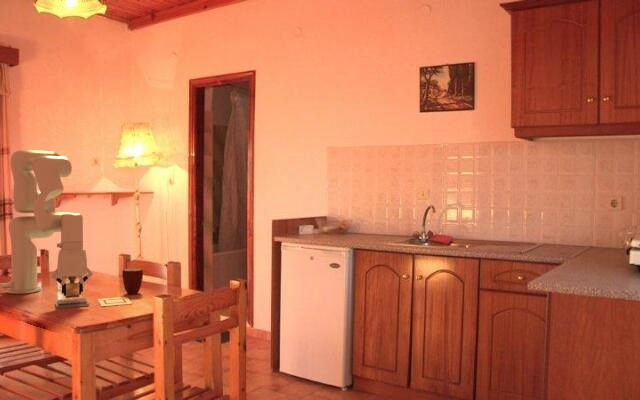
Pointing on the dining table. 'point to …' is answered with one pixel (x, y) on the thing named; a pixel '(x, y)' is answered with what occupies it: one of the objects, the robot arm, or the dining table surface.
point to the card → (114, 301)
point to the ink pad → (71, 303)
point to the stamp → (72, 288)
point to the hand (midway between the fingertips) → (72, 294)
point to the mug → (132, 280)
